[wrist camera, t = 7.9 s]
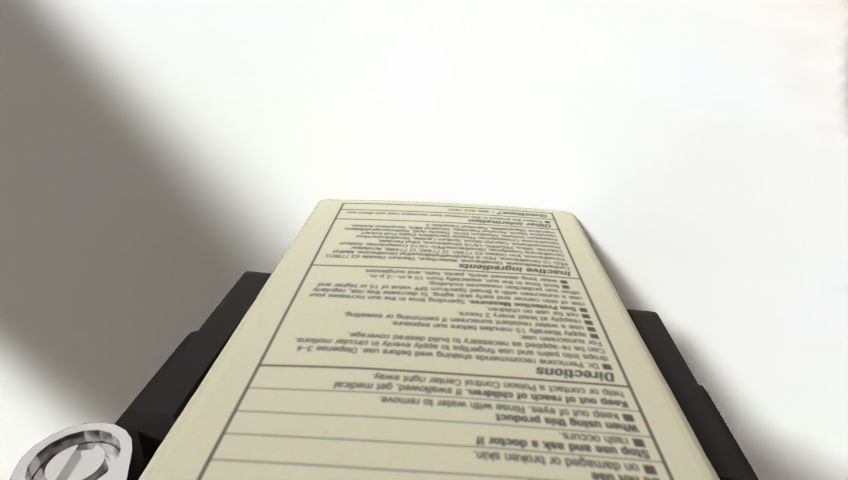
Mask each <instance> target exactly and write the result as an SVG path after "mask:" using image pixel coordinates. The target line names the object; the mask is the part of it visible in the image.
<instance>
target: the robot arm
mask: <svg viewBox="0 0 848 480" xmlns="http://www.w3.org/2000/svg"><path fill="white" fill-rule="evenodd" d="M270 276H271V274H270V273H260V272H250V271H247V272H246V273H244V274H243V276H242V277H241V278H240V279H239V281H238V282H237V283H236V284H235V286H234V287H233V288H232V289H231V291H230V292H229V293H228V294H227V296H226V297H225V298H224V299H223V301H222V302H221V303H220V304H219V306H218V307H217V308H216V309H215V310H214V312H213V313H212V314H211V315H210V317H209V318H208V319H207V320H206V322H205V323H204V324H203V325H202V327H201V328H200V329H199V330H198V331H195V332H191V333H190V334H189V335H188V336H187V337H186V338H185V339H184V340H183V342H182V343H181V344H180V345H179V347H178V348H177V349H176V350H175V351H174V353H173V354H172V355H171V356H170V357H169V359H168V360H167V361H166V362H165V364H164V365H163V366H162V367H161V368H160V370H159V371H158V372H157V373H156V374H155V376H154V377H153V378H152V379H151V381H150V382H149V383H148V384H147V385H146V387H145V388H144V389H143V390H142V391H141V393H140V394H139V395H138V396H137V397H136V399H135V400H134V401H133V402H132V404H131V405H130V406H129V407H128V408H127V410H126V411H125V412H124V413H123V414H122V416H121V417H120V418H119V419H118V421H117V422H116V423H115V424H108V423H102V422H101V423H85V424H81V425H77V426H74V427H70V428H67V429H64V430H62V431H60V432H57V433H55V434H53V435H50V436H49V437H47V438H46V439H44V440H43V441H41V442H39V443H38V444H36V445H35V446H34V447H33V448H32V449H30V450H29V451H28V452H27V453H26V454H25V455H24V456H23V457H22V458H21V460H20V461H19V463H18V464H17V466H16V468H15V469H14V471H13V473H12V475H11V478H10V480H138V479H139V478H140V476H141V475H142V473H143V472H144V470H145V469H146V467H147V466H148V464H149V462H150V461H151V459H152V457H153V456H154V454H155V452H156V451H157V449H158V448H159V446H160V445H161V443H162V442H163V441H164V439H165V437H166V436H167V434H168V433H169V431H170V429H171V428H172V426H173V425H174V424H175V422H176V421H177V419H178V418H179V416H180V415H181V413H182V412H183V410H184V408H185V407H186V405H187V404H188V402H189V401H190V399H191V398H192V396H193V395H194V394H195V392H196V391H197V389H198V388H199V386H200V384H201V383H202V381H203V380H204V378H205V377H206V375H207V373H208V372H209V370H210V369H211V367H212V366H213V364H214V362H215V361H216V359H217V358H218V356H219V355H220V353H221V352H222V350H223V349H224V347H225V346H226V344H227V343H228V341H229V339H230V338H231V336H232V334H233V333H234V331H235V330H236V328H237V327H238V325H239V324H240V322H241V321H242V319H243V317H244V316H245V314H246V313H247V311H248V310H249V308H250V307H251V306H252V304H253V303H254V301H255V300H256V298H257V296H258V295H259V293H260V292H261V290H262V288H263V287H264V285H265V284H266V282H267V281H268V279H269V278H270ZM626 310H627V312H628V314H629V315H630V317H631V319H632V321H633V323H634V325H635V327H636V328H637V330H638V332H639V334H640V336H641V338H642V340H643V342H644V343H645V345H646V347H647V349H648V350H649V352H650V354H651V356H652V357H653V359H654V361H655V363H656V365H657V367H658V368H659V370H660V372H661V374H662V376H663V377H664V379H665V381H666V382H667V384H668V386H669V388H670V390H671V392H672V393H673V395H674V397H675V399H676V401H677V402H678V404H679V406H680V408H681V410H682V412H683V413H684V415H685V417H686V419H687V421H688V423H689V424H690V426H691V428H692V430H693V432H694V434H695V436H696V438H697V439H698V441H699V443H700V445H701V447H702V449H703V451H704V453H705V454H706V456H707V458H708V460H709V461H710V463H711V465H712V467H713V468H714V470H715V472H716V474H717V475H718V477H719V479H720V480H759V479H758V478H757V476H756V474H755V473H754V471H753V469H752V468H751V466H750V464H749V462H748V461H747V459H746V457H745V456H744V454H743V452H742V451H741V449H740V447H739V445H738V444H737V442H736V440H735V439H734V437H733V435H732V434H731V432H730V430H729V428H728V427H727V425H726V423H725V422H724V420H723V418H722V417H721V415H720V413H719V411H718V410H717V408H716V406H715V405H714V403H713V401H712V400H711V398H710V396H709V394H708V393H707V391H706V390H705V389H704V388H703V386H701V385H699V384H698V383H697V382H696V380H695V378H694V376H693V375H692V373H691V371H690V370H689V368H688V366H687V364H686V363H685V361H684V359H683V357H682V356H681V354H680V352H679V350H678V349H677V347H676V345H675V344H674V342H673V340H672V338H671V337H670V335H669V333H668V331H667V330H666V328H665V326H664V324H663V323H662V321H661V319H660V318H659V316H658V314H657V313H656V312H650V311H640V310H630V309H626Z"/></svg>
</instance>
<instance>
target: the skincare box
mask: <svg viewBox="0 0 848 480" xmlns="http://www.w3.org/2000/svg"><path fill="white" fill-rule="evenodd" d="M138 480H720V479H719V477H718V475H717V474H716V472H715V470H714V468H713V467H712V465H711V463H710V461H709V460H708V458H707V456H706V454H705V453H704V451H703V449H702V447H701V445H700V443H699V441H698V439H697V438H696V436H695V434H694V432H693V430H692V428H691V426H690V424H689V423H688V421H687V419H686V417H685V415H684V413H683V412H682V410H681V408H680V406H679V404H678V402H677V401H676V399H675V397H674V395H673V393H672V392H671V390H670V388H669V386H668V384H667V382H666V381H665V379H664V377H663V376H662V374H661V372H660V370H659V368H658V367H657V365H656V363H655V361H654V359H653V357H652V356H651V354H650V352H649V350H648V349H647V347H646V345H645V343H644V342H643V340H642V338H641V336H640V334H639V332H638V330H637V328H636V327H635V325H634V323H633V321H632V319H631V317H630V315H629V314H628V312H627V310H626V308H625V306H624V304H623V303H622V301H621V299H620V297H619V295H618V293H617V291H616V289H615V287H614V285H613V283H612V282H611V280H610V278H609V277H608V275H607V273H606V271H605V270H604V268H603V266H602V264H601V262H600V261H599V259H598V257H597V255H596V254H595V252H594V250H593V248H592V246H591V244H590V242H589V240H588V238H587V237H586V235H585V233H584V231H583V229H582V227H581V225H580V224H579V222H578V220H577V218H576V217H575V216H574V215H573V214H572V213H569V212H564V211H550V210H540V209H530V208H515V207H502V206H487V205H470V204H450V203H430V202H406V201H376V200H332V199H327V200H322V201H320V202H319V203H318V204H317V205H316V207H315V208H314V210H313V212H312V213H311V215H310V216H309V218H308V219H307V220H306V222H305V224H304V225H303V227H302V229H301V230H300V231H299V233H298V234H297V236H296V238H295V239H294V241H293V242H292V244H291V245H290V247H289V248H288V250H287V251H286V253H285V255H284V256H283V258H282V259H281V261H280V263H279V264H278V266H277V267H276V269H275V270H274V272H273V273H272V274H271V276H270V278H269V279H268V281H267V282H266V284H265V285H264V287H263V288H262V290H261V292H260V293H259V295H258V296H257V298H256V300H255V301H254V303H253V304H252V306H251V307H250V308H249V310H248V311H247V313H246V314H245V316H244V317H243V319H242V321H241V322H240V324H239V325H238V327H237V328H236V330H235V331H234V333H233V334H232V336H231V338H230V339H229V341H228V343H227V344H226V346H225V347H224V349H223V350H222V352H221V353H220V355H219V356H218V358H217V359H216V361H215V362H214V364H213V366H212V367H211V369H210V370H209V372H208V373H207V375H206V377H205V378H204V380H203V381H202V383H201V384H200V386H199V388H198V389H197V391H196V392H195V394H194V395H193V396H192V398H191V399H190V401H189V402H188V404H187V405H186V407H185V408H184V410H183V412H182V413H181V415H180V416H179V418H178V419H177V421H176V422H175V424H174V425H173V426H172V428H171V429H170V431H169V433H168V434H167V436H166V437H165V439H164V441H163V442H162V443H161V445H160V446H159V448H158V449H157V451H156V452H155V454H154V456H153V457H152V459H151V461H150V462H149V464H148V466H147V467H146V469H145V470H144V472H143V473H142V475H141V476H140V478H139V479H138Z"/></svg>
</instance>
